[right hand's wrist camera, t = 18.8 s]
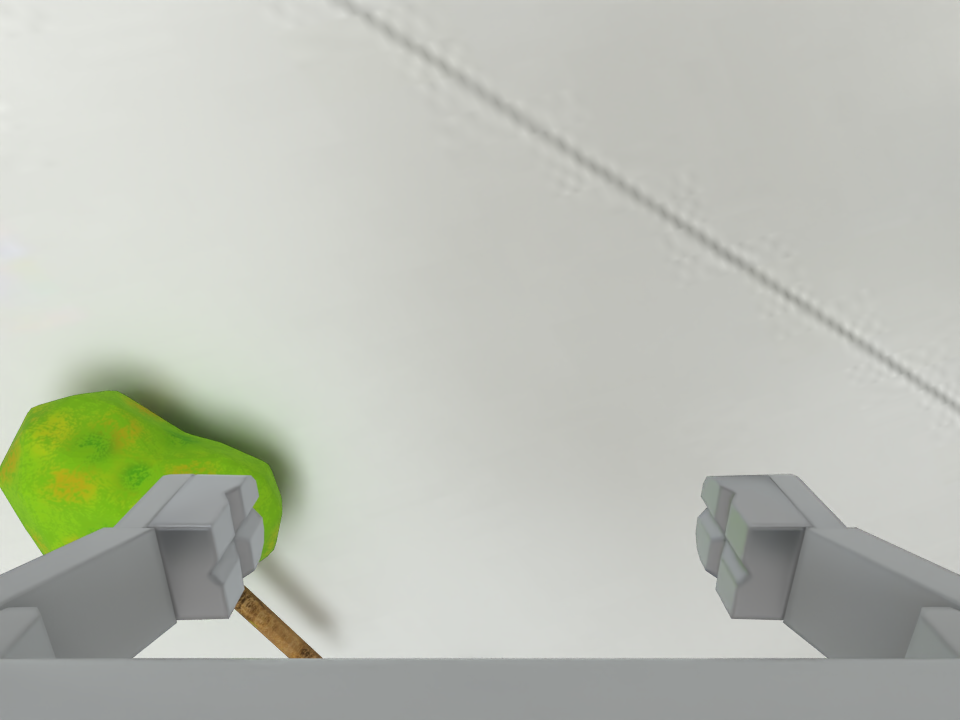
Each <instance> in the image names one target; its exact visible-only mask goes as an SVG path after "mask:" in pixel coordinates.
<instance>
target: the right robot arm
mask: <svg viewBox="0 0 960 720" xmlns="http://www.w3.org/2000/svg"><path fill="white" fill-rule="evenodd" d="M258 497H259V493H258V488H257V483H256V480H255V479H254V478H253V477H252V476H251V475H206V474H197V475H195V474H170V475H165V476H162V477H161V478H160V479H159V480H158V481H157V483H156V484H155V485H154V486H153V487H152V488H151V489H150V490H149V491H148V492H147V493H146V494H145V495H144V496H143V497H142V498H141V499H140V500H139V501H138V502H137V503H136V504H135V505H134V506H133V507H132V508H131V509H130V510H129V512H128V513H127V514H126V515H125V516H124V517H123V518H122V519H121V520H120V521H119V522H118V523H117V524H116V525H115V526H114V527H113V528H102V529H100V530H97V531H95V532H93V533H91V534H89V535H86V536H84V537H82V538H80V539H78V540H76V541H73V542H71V543H69V544H67V545H65V546H62V547H60V548H58V549H56V550H54V551H51V552H49V553H47V554H45V555H43V556H41V557H38V558H36V559H34V560H32V561H30V562H27V563H25V564H23V565H21V566H19V567H16V568H14V569H12V570H10V571H8V572H6V573H3V574H1V575H0V720H960V575H959V574H956V573H954V572H952V571H950V570H948V569H945V568H943V567H941V566H939V565H937V564H935V563H932V562H930V561H928V560H926V559H924V558H921V557H919V556H917V555H915V554H913V553H911V552H908V551H906V550H904V549H902V548H900V547H898V546H895V545H893V544H891V543H889V542H887V541H884V540H882V539H880V538H878V537H876V536H874V535H871V534H869V533H867V532H865V531H863V530H860V529H858V528H847V527H846V526H845V525H844V524H843V523H842V522H841V521H840V520H839V519H838V518H837V517H836V516H835V515H834V514H833V512H832V511H831V510H830V509H829V508H828V507H827V506H826V505H825V504H824V503H823V502H822V501H821V500H820V499H819V498H818V497H817V496H816V495H815V494H814V493H813V492H812V491H811V490H810V489H809V488H808V487H807V485H806V484H805V483H804V482H803V481H802V480H801V479H800V478H799V477H798V476H795V475H793V474H770V475H738V476H707V477H706V479H705V481H704V483H703V487H702V493H701V497H702V499H703V501H704V502H705V504H706V506H707V508H706V509H705V510H704V511H703V512H702V513H701V514H700V515H699V517H698V518H697V526H696V543H697V550H698V554H699V557H700V560H701V562H702V564H703V566H704V568H705V570H706V571H707V572H709V573H710V574H712V575H713V576H715V577H716V578H717V583H716V591H717V593H718V595H719V597H720V598H721V600H722V602H723V604H724V606H725V608H726V610H727V611H728V613H729V615H730V617H731V619H762V620H783V623H784V624H786V625H787V626H788V627H789V628H791V629H792V630H793V631H794V632H796V633H797V634H798V635H799V636H801V637H802V638H803V639H804V640H806V641H807V642H808V643H809V644H811V645H812V646H813V647H814V648H816V649H817V650H818V651H819V652H821V653H822V654H823V655H824V656H826V657H827V658H133V657H134V656H136V655H137V654H138V653H139V652H141V651H142V650H143V649H144V648H146V647H147V646H148V645H149V644H151V643H152V642H153V641H155V640H156V639H157V638H158V637H160V636H161V635H162V634H163V633H165V632H166V631H167V630H168V629H170V628H171V627H172V626H173V625H175V624H176V623H177V621H176V620H197V619H229V617H230V615H231V613H232V612H233V610H234V608H235V606H236V604H237V602H238V600H239V599H240V597H241V595H242V593H243V591H244V583H243V578H244V577H245V576H247V575H248V574H250V573H251V572H253V571H254V570H255V568H256V566H257V564H258V562H259V560H260V558H261V553H262V549H263V544H264V525H263V518H262V517H261V516H260V514H259V513H258V512H257V511H256V510H255V509H254V508H253V506H254V504H255V502H256V501H257V499H258Z"/></svg>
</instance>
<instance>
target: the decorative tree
mask: <svg viewBox="0 0 960 720" xmlns="http://www.w3.org/2000/svg"><path fill="white" fill-rule="evenodd" d="M170 474H195V475H197V474H206V475H251V476H252V477H253V478H254V479H255V480H256V483H257V488H258V493H259V497H258V499H257V501H256V502H255V504H254V506H253V508H254V509H255V510H256V511H257V512H258V513H259V514H260V516H261V517H262V518H263V525H264V544H263V549H262V553H261V558H260V560H259V562H260V561H261V560H263V559H264V558H266V557H267V556H268V555H269V554H270V553H271V552H272V551H273V550H274V548H275V545H276V541H277V536H278V531H279V526H280V521H281V517H282V498H281V494H280V492H279V489H278V486H277V484H276V481H275V478H274V475H273V473H272V470H271V468H270V466H269V465H268V464H267V463H265V462H264V461H262V460H259V459H257V458H255V457H253V456H250V455H248V454H246V453H244V452H241V451H239V450H237V449H235V448H232V447H230V446H228V445H225V444H223V443H221V442H217V441H214V440H210V439H206V438H202V437H198V436H194V435H191V434H188V433H185V432H184V431H182V430H180V429H179V428H177V427H175V426H174V425H172V424H170V423H169V422H167V421H166V420H164V419H162V418H161V417H159V416H158V415H156V414H154V413H153V412H151V411H150V410H148V409H147V408H145V407H143V406H142V405H140V404H139V403H137V402H135V401H134V400H132V399H131V398H129V397H127V396H126V395H124V394H122V393H120V392H118V391H101V392H93V393H85V394H78V395H73V396H69V397H65V398H62V399H58V400H55V401H51V402H48V403H44V404H41V405H38V406H36V407H33V408H31V409H30V411H29V412H28V413H27V415H26V417H25V419H24V421H23V423H22V425H21V427H20V429H19V431H18V432H17V434H16V436H15V438H14V440H13V442H12V444H11V446H10V448H9V450H8V452H7V454H6V456H5V458H4V460H3V462H2V464H1V466H0V488H1V489H2V491H3V493H4V494H5V496H6V498H7V499H8V501H9V503H10V504H11V506H12V508H13V509H14V511H15V512H16V514H17V516H18V517H19V519H20V521H21V522H22V524H23V526H24V527H25V529H26V530H27V532H28V533H29V535H30V536H31V537H32V539H33V540H34V542H35V543H36V545H37V546H38V548H39V549H40V551H41V552H42V554H43V555H45V554H47V553H49V552H51V551H54V550H56V549H58V548H60V547H62V546H65V545H67V544H69V543H71V542H73V541H76V540H78V539H80V538H82V537H84V536H86V535H89V534H91V533H93V532H95V531H97V530H100V529H102V528H113V527H114V526H115V525H116V524H117V523H118V522H119V521H120V520H121V519H122V518H123V517H124V516H125V515H126V514H127V513H128V512H129V510H130V509H131V508H132V507H133V506H134V505H135V504H136V503H137V502H138V501H139V500H140V499H141V498H142V497H143V496H144V495H145V494H146V493H147V492H148V491H149V490H150V489H151V488H152V487H153V486H154V485H155V484H156V483H157V481H158V480H159V479H160V478H161V477H162V476H165V475H170ZM259 562H258V563H259ZM234 609H235V610H236V611H238V612H239V613H240V614H241V615H242V616H243V617H244V618H245V619H246V620H247V621H249V622H250V623H251V624H252V625H253V626H254V627H255V628H256V629H257V630H259V631H260V632H261V633H262V634H263V635H264V636H265V637H266V638H267V639H268V640H270V641H271V642H272V643H273V644H274V645H275V646H276V647H277V648H278V649H280V650H281V651H282V652H283V653H284V654H285V655H286V656H287V657H288V658H322V657H321V656H320V655H319V654H318V653H317V652H315V651H314V650H313V649H312V648H311V647H310V646H309V645H308V644H307V643H306V642H305V641H304V640H303V639H301V638H300V637H299V636H298V635H297V634H296V633H295V632H294V631H293V630H292V629H291V628H290V627H289V626H287V625H286V624H285V623H284V622H283V621H282V620H281V619H280V618H279V617H278V616H277V615H276V614H275V613H274V612H272V611H271V610H270V609H269V608H268V607H267V606H266V605H265V604H264V603H263V602H262V601H261V600H260V599H258V598H257V597H256V596H255V595H254V594H253V593H252V592H251V591H250V590H249V589H248V588H247V587H246V586H244V591H243V593H242V595H241V597H240V599H239V600H238V602H237V604H236V606H235V608H234Z"/></svg>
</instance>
